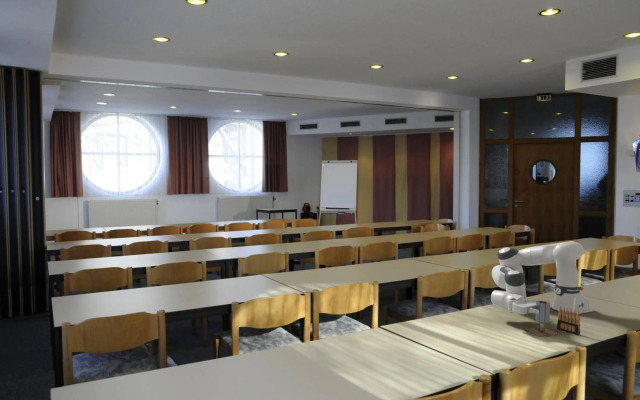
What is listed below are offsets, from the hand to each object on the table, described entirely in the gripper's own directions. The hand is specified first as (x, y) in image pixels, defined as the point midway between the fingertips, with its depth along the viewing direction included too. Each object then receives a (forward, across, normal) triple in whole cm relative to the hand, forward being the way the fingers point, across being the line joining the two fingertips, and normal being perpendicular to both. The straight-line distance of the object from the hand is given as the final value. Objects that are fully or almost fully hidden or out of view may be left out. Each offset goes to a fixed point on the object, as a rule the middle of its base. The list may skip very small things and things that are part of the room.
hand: (544, 310), depth 241 cm
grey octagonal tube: (-1, 0, -5) cm, 5 cm away
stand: (-1, 0, -11) cm, 11 cm away
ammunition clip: (+5, -13, -11) cm, 18 cm away
